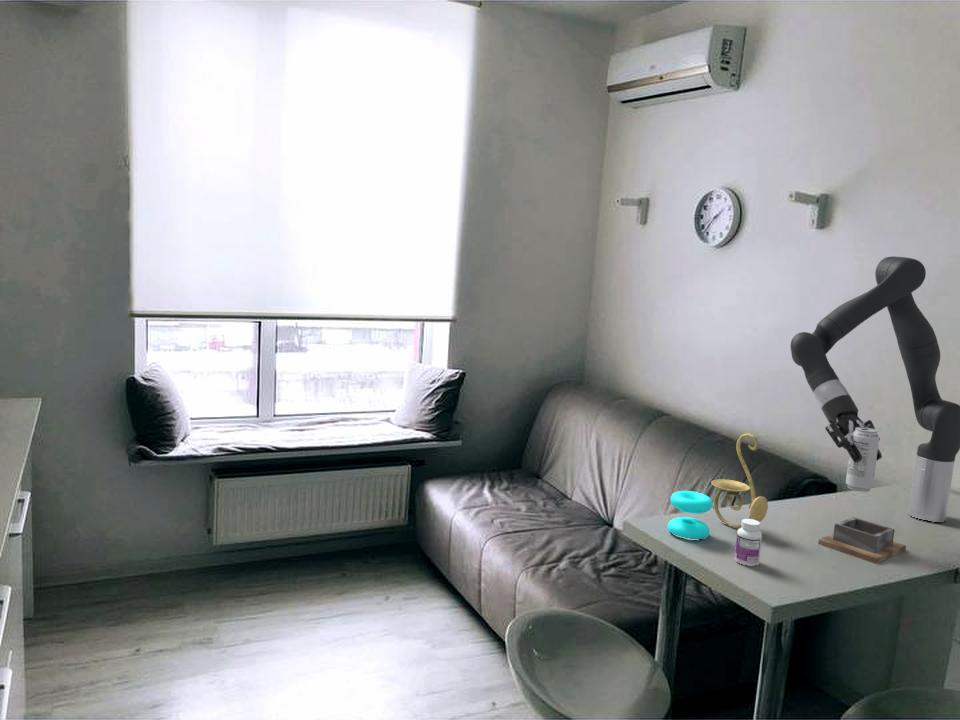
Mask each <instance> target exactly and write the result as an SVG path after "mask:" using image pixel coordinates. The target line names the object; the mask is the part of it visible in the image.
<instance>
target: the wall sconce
mask: <svg viewBox="0 0 960 720" xmlns="http://www.w3.org/2000/svg"><path fill="white" fill-rule="evenodd" d="M745 438H750V439H752V441H753V442H754V446H752V445H751V444H748V449H749V450H751V451H752V452H753V451H756V450H758V449H759V447H760V446H759V445H760V443H759V440H758V437H756V436H755V435H754V434H752V433H749V432H747V433H743V434H741V435H740V437H738V439H737V442H736V452H737V457H738V458H739V461H740V463H741V466H742V468H743V470H744V472H745V475H746V477H747V481H748V484H749V485H748V484H746V483H744V482H742V481H737V480H731V479H722V478H721V479H714V480H711V482H710V483H711V485H712V486H713V487H715V488H716V489H719V490H717V492H716V493H715V495H714V500H713V509H714V511H715V514H716V516H717V518H718V519H719V520H720V521H721V522H722V523H723V522H724V523H726V524H728V525H731V526H732V527H735V528H734V529H740V528H742V526H741V524H735V523H732V522H729V521H728V520H726V519H725V518H724V516H722V514H721V512H720V510H719V506H718V505H719V504H718V502H719V498H720V495H721V494H722V493H724V492H725V493H726V494H727V495H728V496H725V498H726V501H725V502H728V503H731V502H732V500H733V498H732V497H731V496H730V495H733V496H734V497H735V498H736V499H737V501H738V504H737V506H734V505H730V508H731V510H733V511H739V510H741V509H742V506H743V498H742V497H741V495H740V494H739V493H743V492H744V493H746V492H749V490H750V494H751V503H750V504H749V505H748V509H749V518H748V519H753V520H756V521H759V522H760V523H761V522H762V521H763V520H764V519H765V517H766V516H767V513H768V508H769V502H768V499H767V498H766V497H764V496H757V497H756V491H755V486H754V485H755V484H754V482H753V478H752V475H751V472H750V470H749V468H748V466H747V464H746V461H745V459H744V456H743V453H742V450H741V444H742V441H743V440H745ZM724 523H723V524H724ZM726 524H725V525H726ZM728 525H727V526H728ZM732 527H731V528H732Z"/></svg>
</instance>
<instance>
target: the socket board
mask: <svg viewBox="0 0 960 720" xmlns="http://www.w3.org/2000/svg"><path fill="white" fill-rule="evenodd" d="M895 531H896V529H895V528H891V527H888V526H885V525H882V524H877V523H875V522H871V521H868V520H866V519H865V520H864V519H862V518H858V517H855V516H853V517H851V518H848V519H845V520H842V521H840V522H836V523H834V526H833V533H832V534H828V535H826V536H823V537H821V538H819V539H818V545H820V546H824V547H826V548H829V549H833V550H835V551H837V552H840V553H844V554H847V555H850V556H853V557H856V558H859V559H862V560H864V561H867V562H871V563H873V564H878V563H880V562H882V561H884V560H888V559H889V558H891V557H893V556H896V555H898V554H900V553H902V552H905V551H906V550H907V545H905V544H902V543H899V542H897V541H894V539H895V538H894V537H895Z"/></svg>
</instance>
